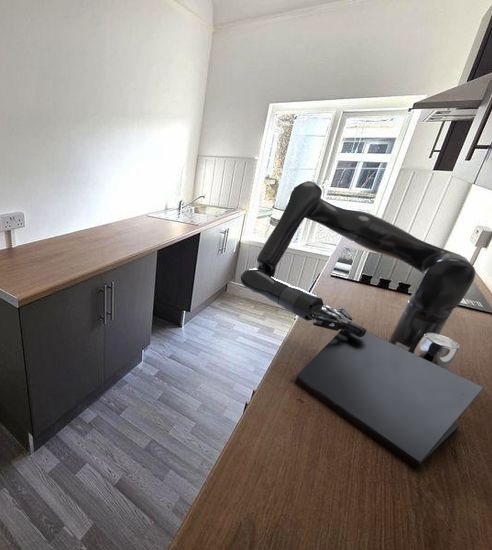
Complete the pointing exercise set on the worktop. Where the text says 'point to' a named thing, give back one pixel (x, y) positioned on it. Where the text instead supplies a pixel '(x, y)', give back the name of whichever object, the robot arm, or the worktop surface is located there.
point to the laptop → (371, 433)
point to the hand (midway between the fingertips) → (363, 333)
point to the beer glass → (437, 349)
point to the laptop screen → (390, 390)
